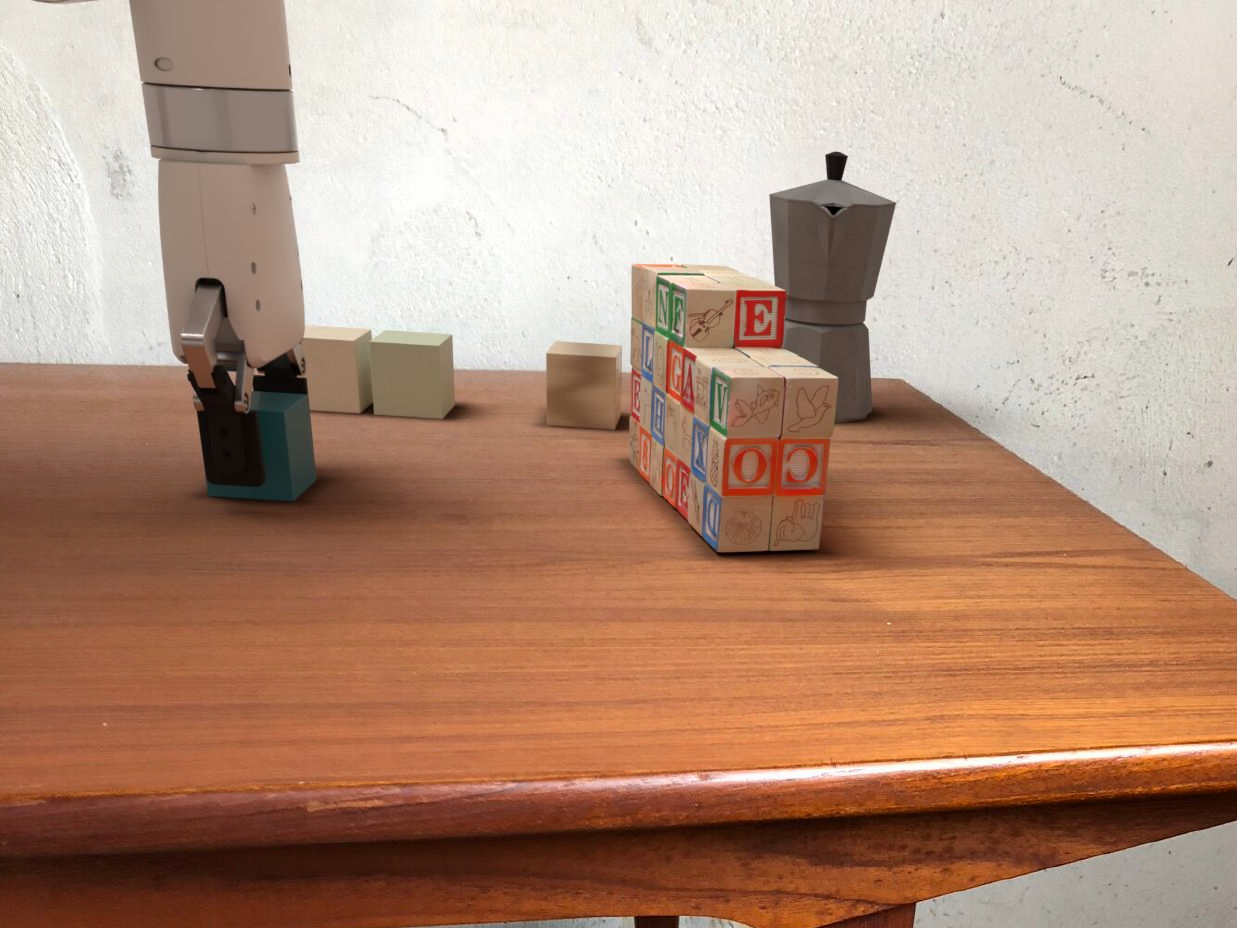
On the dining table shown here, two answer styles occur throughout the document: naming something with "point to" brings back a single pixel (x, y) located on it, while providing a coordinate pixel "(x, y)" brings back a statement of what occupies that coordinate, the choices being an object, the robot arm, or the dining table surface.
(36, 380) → the dining table surface
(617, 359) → the block
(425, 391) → the block
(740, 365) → the stack of blocks
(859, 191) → the coffeepot
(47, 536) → the dining table surface
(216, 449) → the robot arm
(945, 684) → the dining table surface
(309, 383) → the block
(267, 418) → the teal block
